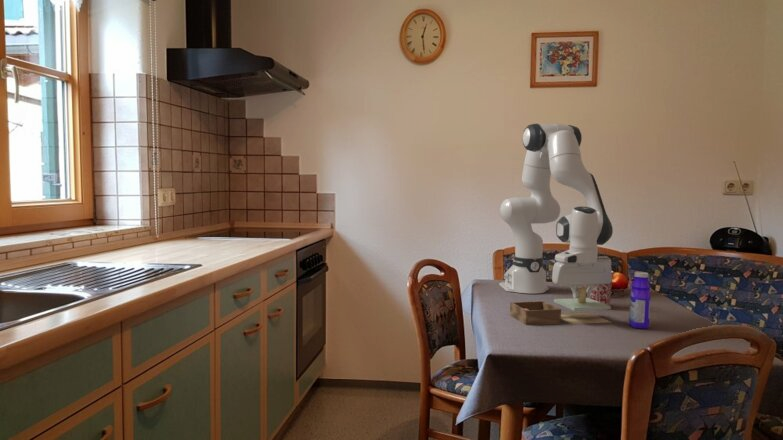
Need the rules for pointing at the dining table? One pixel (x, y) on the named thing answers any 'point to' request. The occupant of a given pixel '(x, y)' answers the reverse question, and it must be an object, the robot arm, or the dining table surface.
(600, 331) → the dining table surface
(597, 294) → the mug
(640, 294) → the bottle
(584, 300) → the lid
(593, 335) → the dining table surface
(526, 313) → the box
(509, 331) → the dining table surface
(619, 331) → the dining table surface
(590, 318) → the mat
